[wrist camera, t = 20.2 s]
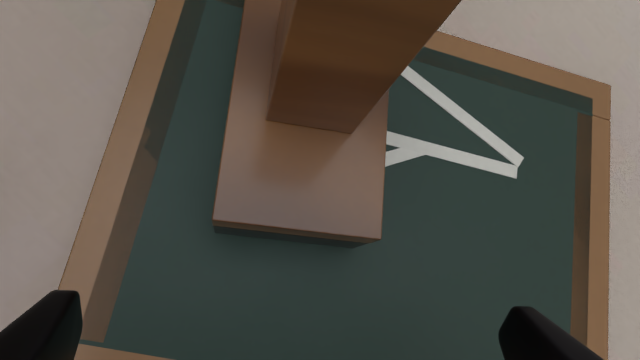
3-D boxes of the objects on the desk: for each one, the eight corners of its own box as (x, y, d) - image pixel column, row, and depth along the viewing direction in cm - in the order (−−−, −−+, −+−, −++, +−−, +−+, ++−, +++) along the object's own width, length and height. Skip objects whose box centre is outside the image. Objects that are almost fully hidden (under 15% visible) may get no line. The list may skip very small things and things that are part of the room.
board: (587, 474, 19) (608, 485, 18) (32, 392, 15) (19, 399, 14) (595, 93, 24) (612, 84, 23) (176, -37, 20) (173, -54, 19)
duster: (354, 248, 18) (582, 177, 6) (213, 233, 17) (193, 116, 5) (370, 9, 20) (547, -331, 9) (250, -17, 20) (286, -431, 8)
